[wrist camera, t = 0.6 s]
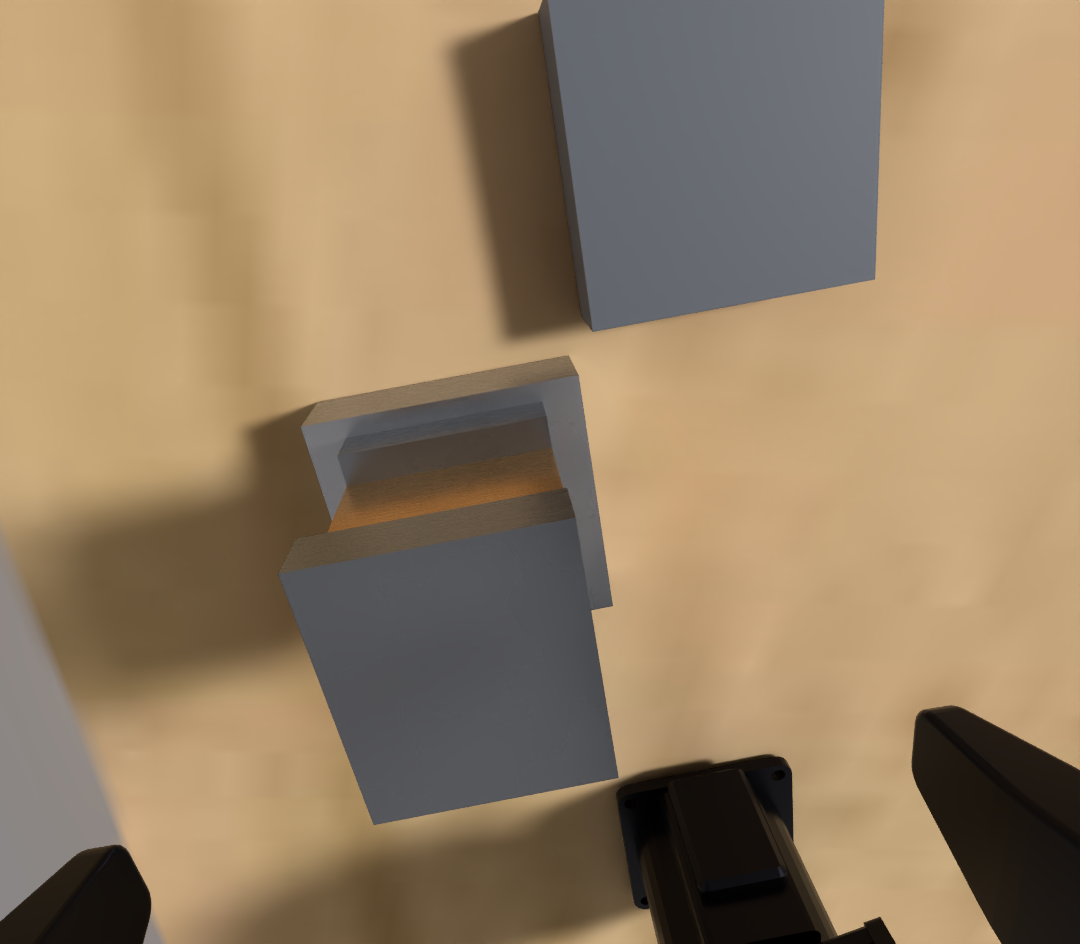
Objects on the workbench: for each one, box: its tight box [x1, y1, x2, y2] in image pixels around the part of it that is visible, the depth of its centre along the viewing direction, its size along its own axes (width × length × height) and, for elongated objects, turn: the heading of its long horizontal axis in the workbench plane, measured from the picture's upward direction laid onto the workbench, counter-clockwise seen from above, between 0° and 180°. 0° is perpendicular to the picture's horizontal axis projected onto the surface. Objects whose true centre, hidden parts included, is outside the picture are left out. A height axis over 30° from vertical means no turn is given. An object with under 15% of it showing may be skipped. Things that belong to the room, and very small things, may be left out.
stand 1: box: [301, 356, 613, 610], centre depth 19 cm, size 7×7×2 cm
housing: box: [278, 401, 618, 825], centre depth 15 cm, size 6×5×6 cm
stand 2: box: [538, 0, 884, 332], centre depth 16 cm, size 7×7×2 cm
